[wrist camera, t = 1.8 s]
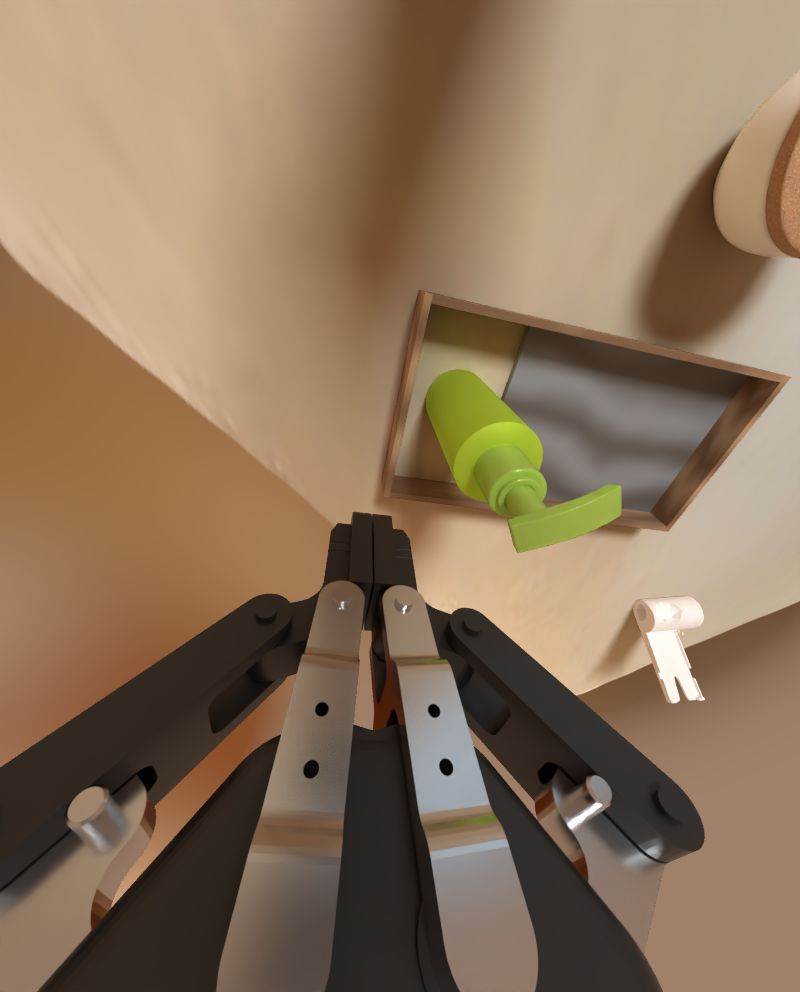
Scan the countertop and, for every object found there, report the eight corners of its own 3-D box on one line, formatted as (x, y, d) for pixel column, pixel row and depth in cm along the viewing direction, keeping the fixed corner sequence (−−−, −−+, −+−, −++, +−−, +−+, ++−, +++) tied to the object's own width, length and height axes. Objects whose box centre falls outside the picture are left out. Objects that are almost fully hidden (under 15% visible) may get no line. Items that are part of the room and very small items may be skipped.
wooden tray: (419, 290, 28) (425, 292, 25) (754, 367, 33) (791, 377, 30) (382, 478, 37) (383, 496, 34) (647, 513, 43) (668, 531, 40)
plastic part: (685, 590, 53) (757, 662, 43) (660, 630, 58) (719, 701, 48) (639, 594, 52) (701, 667, 42) (618, 634, 58) (668, 707, 48)
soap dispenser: (501, 412, 34) (628, 549, 17) (435, 437, 35) (496, 589, 18) (488, 354, 31) (629, 454, 14) (417, 383, 32) (469, 509, 15)
